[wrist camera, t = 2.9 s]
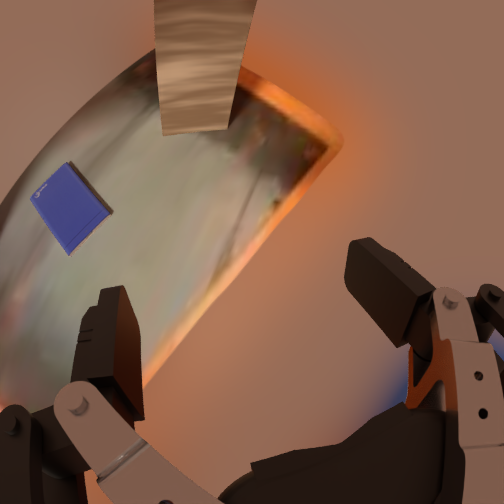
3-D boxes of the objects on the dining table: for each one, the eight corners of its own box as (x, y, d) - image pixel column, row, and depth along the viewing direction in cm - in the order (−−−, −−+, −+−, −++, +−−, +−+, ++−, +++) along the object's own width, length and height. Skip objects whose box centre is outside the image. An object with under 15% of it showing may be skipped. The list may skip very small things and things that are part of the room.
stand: (227, 129, 42) (281, -79, 11) (162, 136, 40) (157, -83, 8) (215, 73, 45) (248, -92, 13) (160, 78, 43) (163, -92, 11)
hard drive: (28, 198, 33) (67, 255, 32) (66, 160, 35) (109, 212, 35) (33, 202, 34) (72, 258, 34) (69, 165, 37) (112, 216, 36)
